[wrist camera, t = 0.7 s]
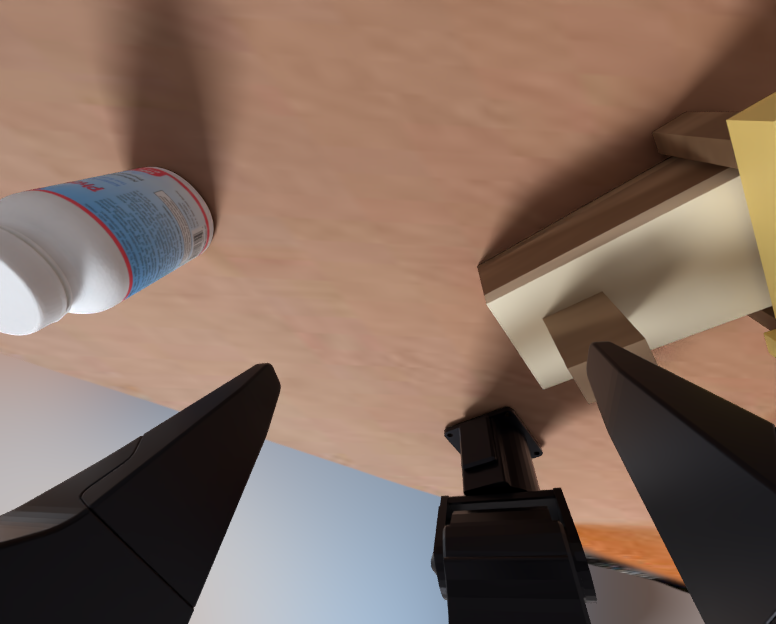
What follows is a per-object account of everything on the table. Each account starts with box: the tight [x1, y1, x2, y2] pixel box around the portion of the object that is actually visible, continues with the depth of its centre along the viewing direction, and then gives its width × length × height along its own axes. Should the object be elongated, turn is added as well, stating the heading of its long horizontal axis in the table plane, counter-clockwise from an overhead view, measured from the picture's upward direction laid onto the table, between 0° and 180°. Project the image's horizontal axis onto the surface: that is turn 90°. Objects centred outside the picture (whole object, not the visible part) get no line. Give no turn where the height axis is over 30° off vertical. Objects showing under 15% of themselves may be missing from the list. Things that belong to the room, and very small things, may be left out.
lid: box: [484, 167, 772, 404], centre depth 15 cm, size 7×14×5 cm, turn 127°
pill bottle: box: [0, 167, 214, 335], centre depth 18 cm, size 6×6×11 cm
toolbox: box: [477, 112, 776, 331], centre depth 18 cm, size 10×14×5 cm
